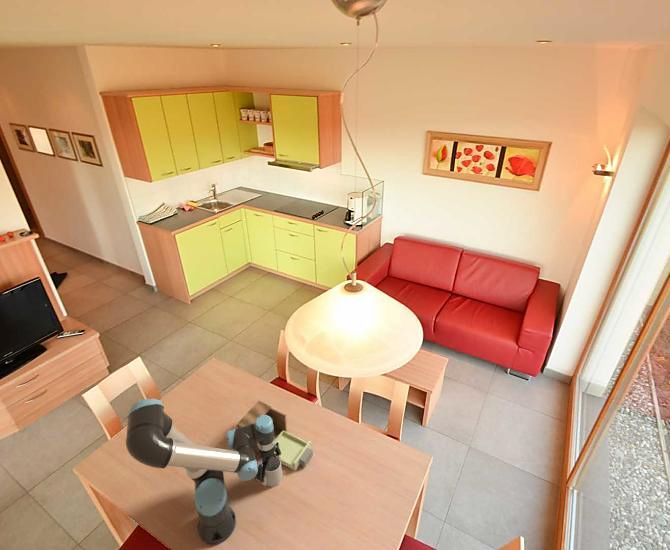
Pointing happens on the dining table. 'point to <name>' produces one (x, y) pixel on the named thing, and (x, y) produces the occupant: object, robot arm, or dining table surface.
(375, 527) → the dining table surface
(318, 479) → the dining table surface
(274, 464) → the mug
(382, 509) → the dining table surface
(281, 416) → the cubby
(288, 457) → the tray
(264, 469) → the robot arm
